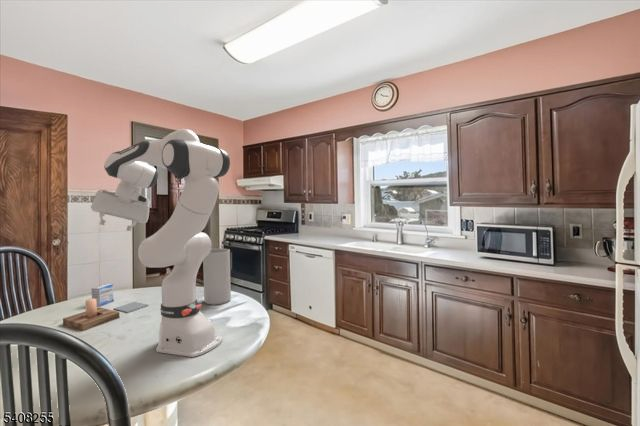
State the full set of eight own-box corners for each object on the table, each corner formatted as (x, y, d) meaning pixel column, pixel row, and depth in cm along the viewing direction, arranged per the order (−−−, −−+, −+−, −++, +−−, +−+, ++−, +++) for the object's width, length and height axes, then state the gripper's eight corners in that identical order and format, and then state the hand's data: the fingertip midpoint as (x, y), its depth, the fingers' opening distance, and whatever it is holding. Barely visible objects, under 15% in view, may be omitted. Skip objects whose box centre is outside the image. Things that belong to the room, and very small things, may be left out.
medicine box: (99, 306, 148) (99, 288, 147) (92, 306, 149) (91, 288, 148) (114, 301, 155) (113, 283, 155) (106, 300, 156) (105, 283, 156)
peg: (99, 320, 132) (98, 299, 131) (89, 323, 128) (88, 302, 128) (94, 318, 133) (93, 298, 133) (84, 322, 130) (83, 300, 129)
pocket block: (119, 317, 134) (119, 312, 134) (83, 330, 122) (83, 324, 121) (99, 312, 140) (99, 307, 140) (63, 324, 128) (62, 318, 127)
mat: (148, 305, 149) (148, 304, 149) (127, 313, 140) (127, 311, 140) (134, 302, 153) (134, 301, 153) (113, 309, 144) (113, 308, 144)
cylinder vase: (235, 300, 156) (234, 250, 154) (212, 307, 146) (211, 254, 145) (222, 295, 164) (221, 247, 163) (199, 301, 155) (198, 251, 153)
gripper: (97, 185, 123) (83, 219, 119) (153, 201, 132) (142, 232, 127) (99, 190, 129) (86, 222, 124) (153, 204, 137) (142, 235, 132)
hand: (115, 227), depth 126 cm, fingers open, 8 cm apart
